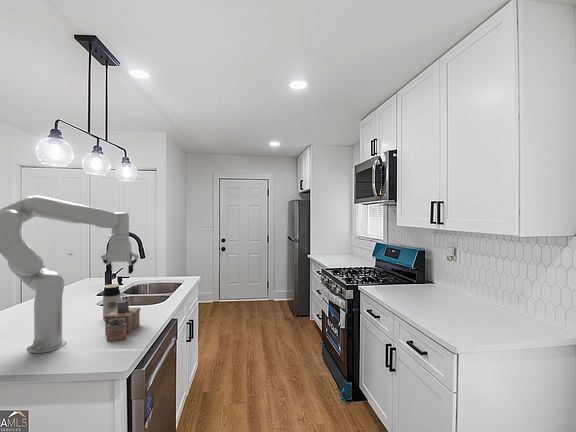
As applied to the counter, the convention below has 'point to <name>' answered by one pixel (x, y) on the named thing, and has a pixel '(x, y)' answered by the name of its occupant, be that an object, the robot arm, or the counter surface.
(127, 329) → the box
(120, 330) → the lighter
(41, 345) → the robot arm
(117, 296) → the travel mug
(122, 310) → the lid
